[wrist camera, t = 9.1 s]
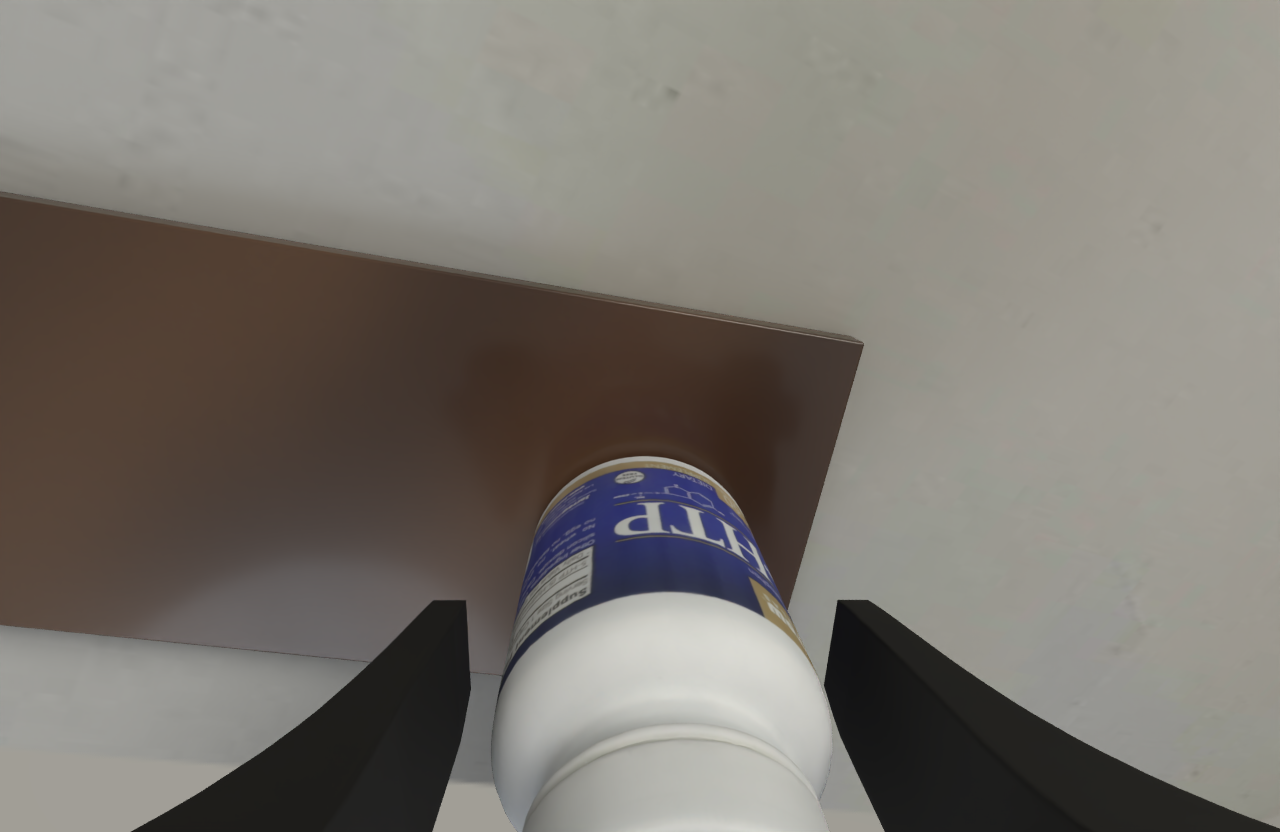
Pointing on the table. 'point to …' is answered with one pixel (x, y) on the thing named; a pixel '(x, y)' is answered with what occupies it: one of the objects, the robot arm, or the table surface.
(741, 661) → the pill bottle
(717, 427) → the corner board
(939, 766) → the robot arm
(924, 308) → the table surface
